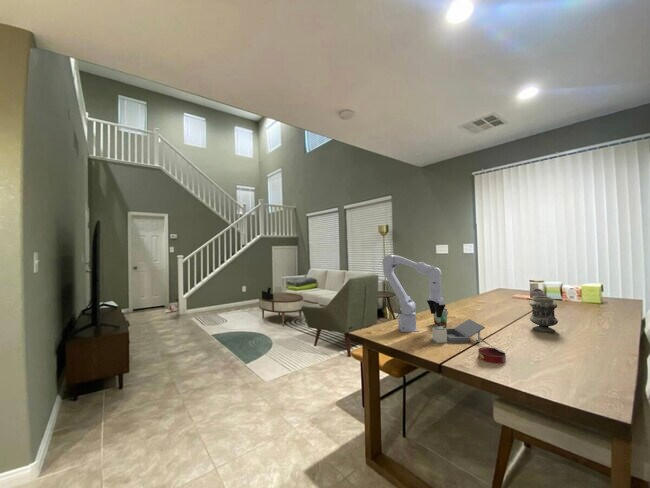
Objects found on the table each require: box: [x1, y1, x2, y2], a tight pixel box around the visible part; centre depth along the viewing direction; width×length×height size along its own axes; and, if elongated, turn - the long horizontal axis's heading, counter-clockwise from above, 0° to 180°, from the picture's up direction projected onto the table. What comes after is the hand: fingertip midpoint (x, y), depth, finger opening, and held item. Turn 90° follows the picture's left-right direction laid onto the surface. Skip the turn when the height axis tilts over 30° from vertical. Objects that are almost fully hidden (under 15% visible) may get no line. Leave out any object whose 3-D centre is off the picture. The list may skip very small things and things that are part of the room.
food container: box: [433, 307, 449, 329], centre depth 161 cm, size 12×6×10 cm, turn 179°
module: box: [431, 326, 448, 343], centre depth 137 cm, size 5×5×6 cm
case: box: [445, 318, 486, 344], centre depth 141 cm, size 17×14×7 cm
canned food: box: [477, 337, 507, 364], centre depth 116 cm, size 11×10×10 cm
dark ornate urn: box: [529, 295, 559, 334], centre depth 150 cm, size 12×12×18 cm
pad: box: [428, 337, 449, 345], centre depth 137 cm, size 7×7×1 cm
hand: (436, 315), depth 148 cm, fingers open, 7 cm apart
